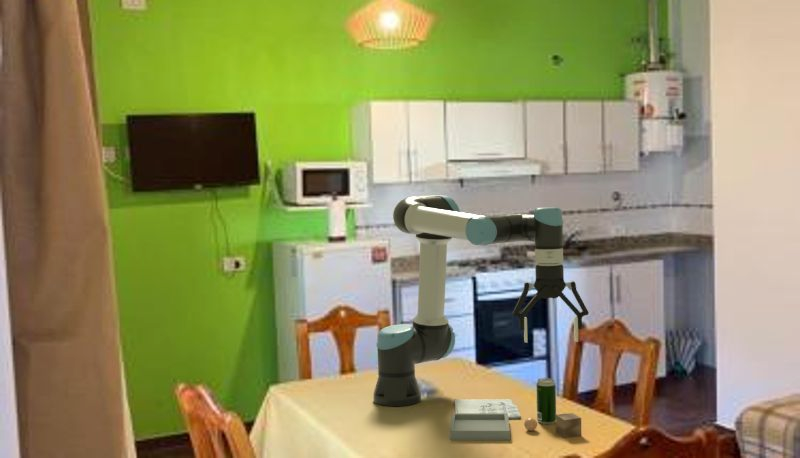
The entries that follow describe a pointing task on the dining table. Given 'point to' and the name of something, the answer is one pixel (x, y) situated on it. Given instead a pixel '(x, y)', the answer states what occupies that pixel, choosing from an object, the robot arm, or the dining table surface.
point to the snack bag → (487, 406)
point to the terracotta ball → (530, 424)
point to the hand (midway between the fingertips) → (551, 341)
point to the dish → (479, 426)
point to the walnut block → (568, 425)
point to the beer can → (546, 401)
